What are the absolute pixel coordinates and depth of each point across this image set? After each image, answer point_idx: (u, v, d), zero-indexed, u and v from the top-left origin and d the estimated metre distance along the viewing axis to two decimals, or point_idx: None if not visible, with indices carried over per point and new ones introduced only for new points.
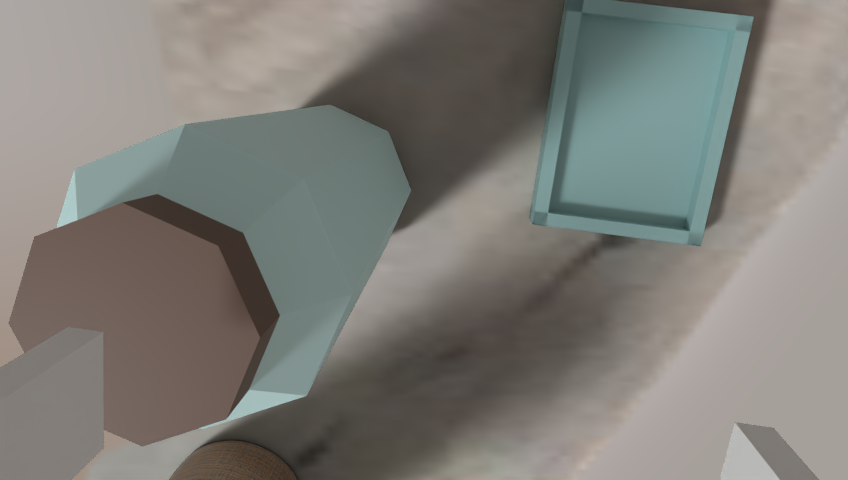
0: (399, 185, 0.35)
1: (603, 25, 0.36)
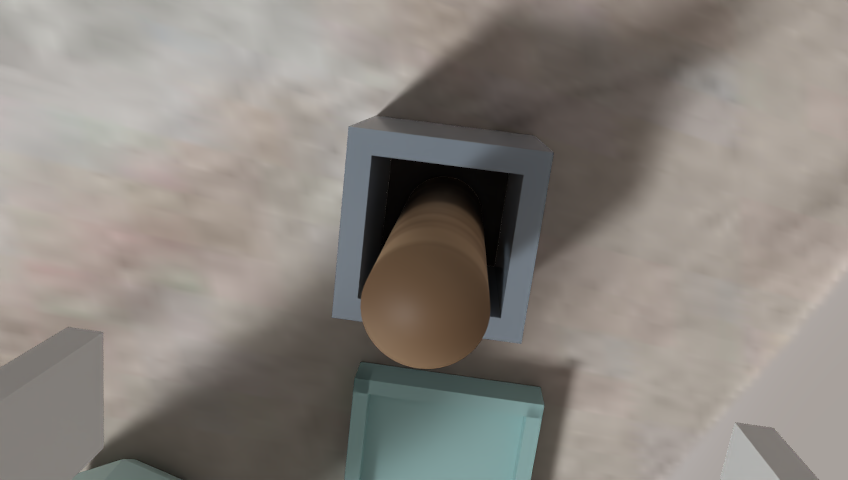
0: None
1: None
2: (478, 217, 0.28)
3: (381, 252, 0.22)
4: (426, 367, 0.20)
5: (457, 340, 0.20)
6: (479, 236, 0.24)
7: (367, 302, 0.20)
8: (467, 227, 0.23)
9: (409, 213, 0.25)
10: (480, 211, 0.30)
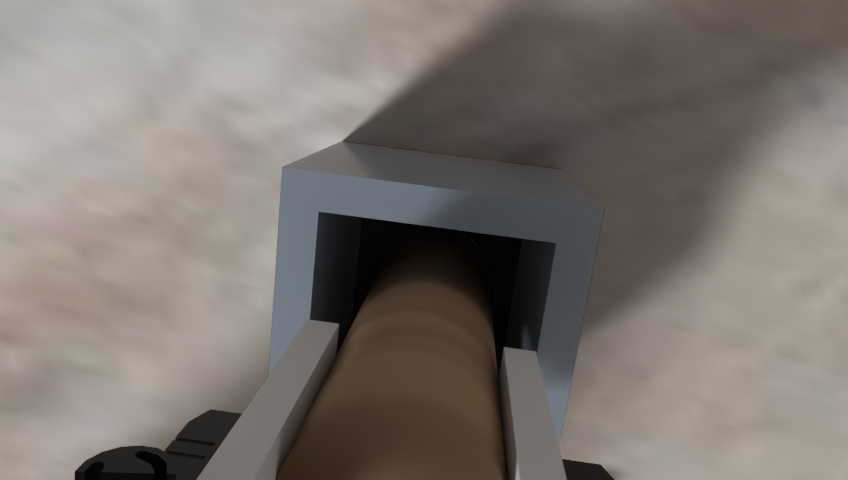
0: None
1: None
2: (484, 297, 0.19)
3: (320, 392, 0.13)
4: None
5: None
6: (487, 343, 0.15)
7: None
8: (468, 334, 0.14)
9: (377, 302, 0.16)
10: (486, 279, 0.21)
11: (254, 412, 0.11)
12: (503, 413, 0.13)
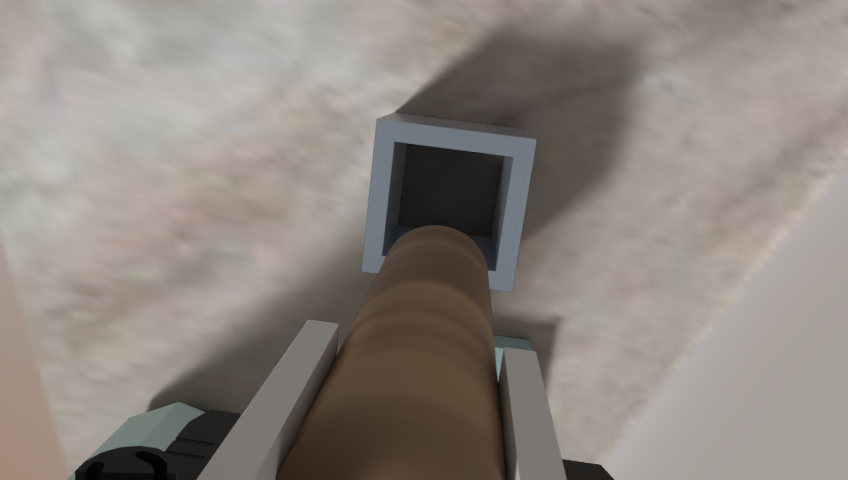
0: None
1: None
2: (484, 297, 0.19)
3: (320, 392, 0.13)
4: None
5: None
6: (486, 343, 0.15)
7: None
8: (467, 334, 0.14)
9: (377, 302, 0.16)
10: (486, 279, 0.21)
11: (254, 412, 0.11)
12: (503, 413, 0.13)
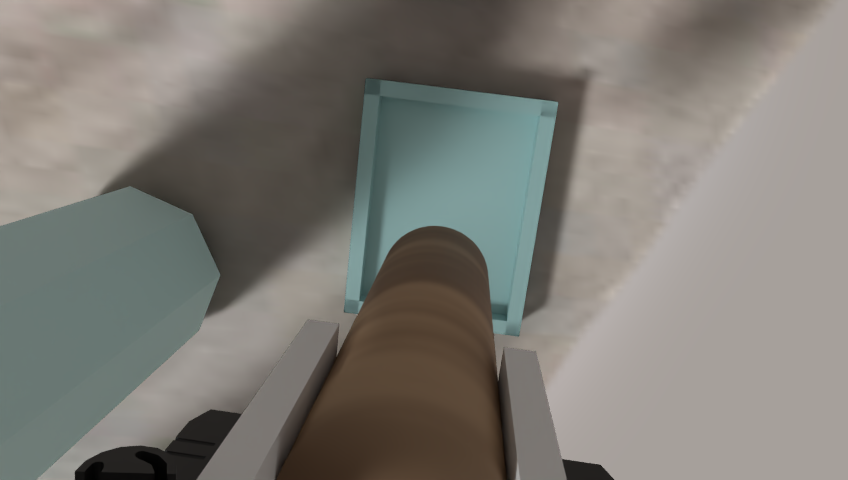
0: (187, 278, 0.34)
1: (407, 106, 0.34)
2: (484, 298, 0.19)
3: (319, 394, 0.13)
4: None
5: None
6: (487, 345, 0.15)
7: None
8: (467, 336, 0.14)
9: (377, 303, 0.16)
10: (486, 280, 0.21)
11: (254, 412, 0.11)
12: (503, 413, 0.13)
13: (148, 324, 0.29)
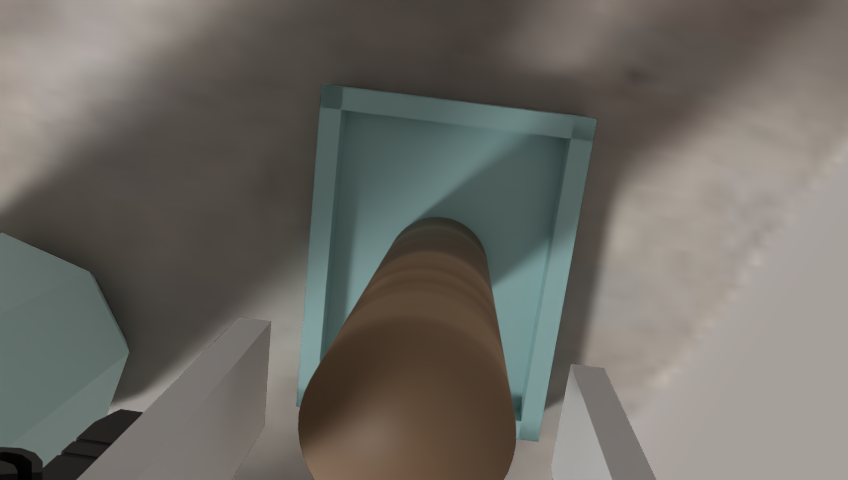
0: (68, 369, 0.24)
1: (382, 124, 0.24)
2: (485, 272, 0.20)
3: (340, 330, 0.14)
4: None
5: None
6: (489, 302, 0.17)
7: (310, 420, 0.12)
8: (472, 289, 0.16)
9: (388, 267, 0.17)
10: (486, 263, 0.23)
11: (156, 412, 0.10)
12: (579, 435, 0.13)
13: None
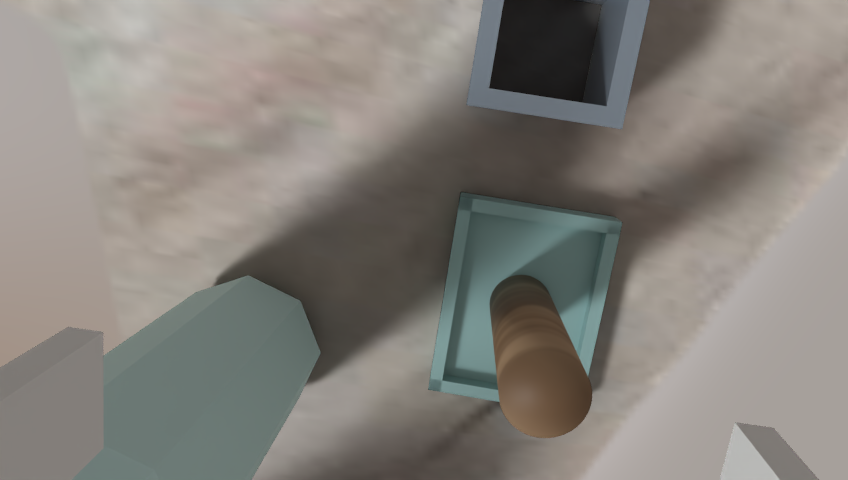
0: (302, 361, 0.39)
1: (492, 218, 0.40)
2: (559, 315, 0.36)
3: (506, 349, 0.30)
4: (542, 436, 0.28)
5: (566, 418, 0.28)
6: (568, 335, 0.33)
7: (504, 388, 0.28)
8: (562, 329, 0.32)
9: (514, 314, 0.33)
10: None
11: None
12: None
13: (284, 407, 0.35)
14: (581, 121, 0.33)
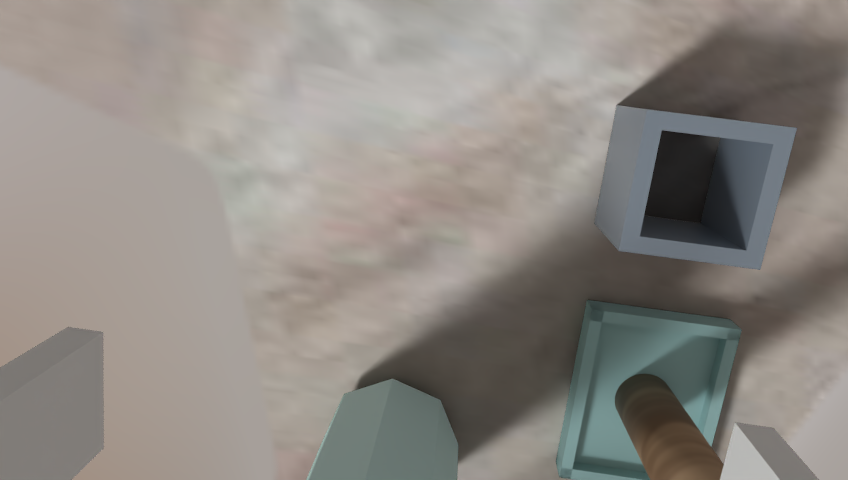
0: (452, 461, 0.44)
1: (618, 325, 0.44)
2: None
3: None
4: None
5: None
6: None
7: None
8: (714, 453, 0.36)
9: (664, 434, 0.37)
10: None
11: None
12: None
13: None
14: (723, 263, 0.36)
